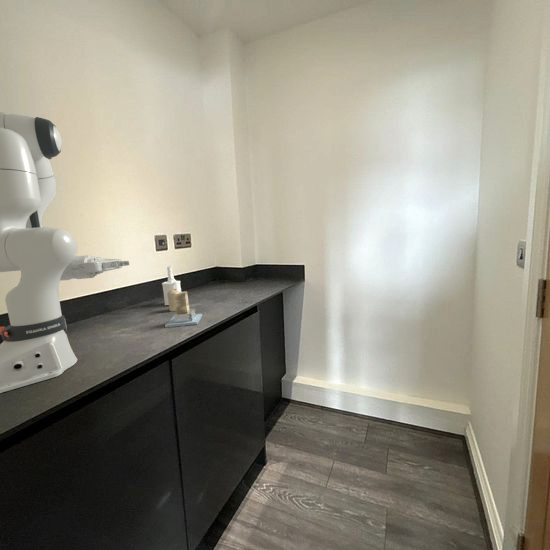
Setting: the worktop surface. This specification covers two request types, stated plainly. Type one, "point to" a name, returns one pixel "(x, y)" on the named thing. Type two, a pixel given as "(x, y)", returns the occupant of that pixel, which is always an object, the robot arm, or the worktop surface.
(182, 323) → the base plate
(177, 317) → the slot bracket
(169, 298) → the candle
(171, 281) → the white tall bottle shape
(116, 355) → the worktop surface
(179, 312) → the beech post
